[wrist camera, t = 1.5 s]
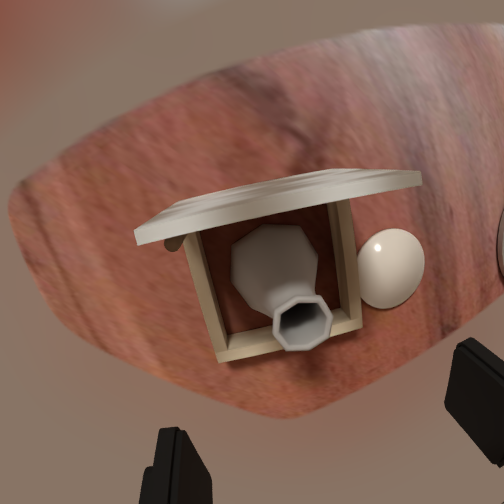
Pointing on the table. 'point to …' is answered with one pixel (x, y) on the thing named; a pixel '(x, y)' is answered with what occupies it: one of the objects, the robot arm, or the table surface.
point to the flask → (282, 284)
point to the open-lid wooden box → (266, 203)
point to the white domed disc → (389, 267)
